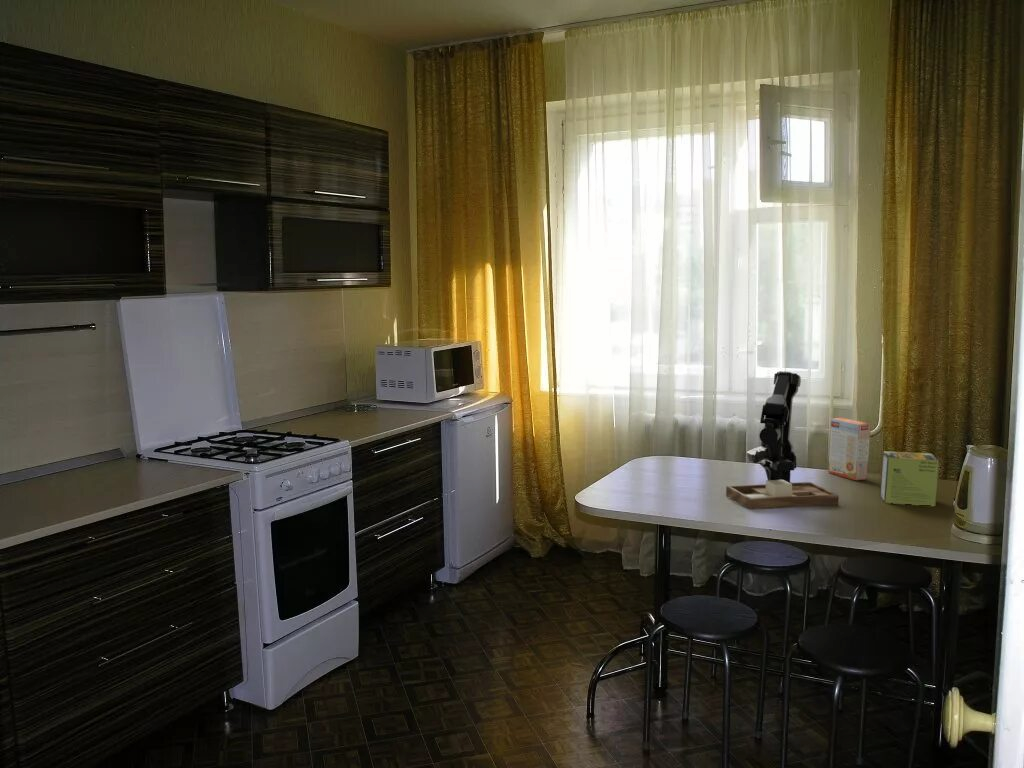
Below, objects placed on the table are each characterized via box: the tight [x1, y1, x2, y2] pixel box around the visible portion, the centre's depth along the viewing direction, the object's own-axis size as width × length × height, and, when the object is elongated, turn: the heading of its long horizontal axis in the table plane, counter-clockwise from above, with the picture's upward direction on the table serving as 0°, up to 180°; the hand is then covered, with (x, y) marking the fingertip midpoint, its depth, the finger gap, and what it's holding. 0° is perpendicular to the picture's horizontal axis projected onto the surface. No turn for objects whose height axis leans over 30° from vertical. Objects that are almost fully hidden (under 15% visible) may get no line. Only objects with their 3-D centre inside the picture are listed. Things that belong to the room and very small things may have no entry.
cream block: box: [765, 479, 792, 497], centre depth 282 cm, size 6×6×4 cm
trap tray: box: [725, 481, 840, 510], centre depth 284 cm, size 17×31×3 cm, turn 102°
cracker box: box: [827, 417, 872, 481], centre depth 316 cm, size 14×6×21 cm, turn 22°
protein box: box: [879, 450, 940, 507], centre depth 284 cm, size 10×15×16 cm
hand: (771, 485), depth 286 cm, fingers closed
